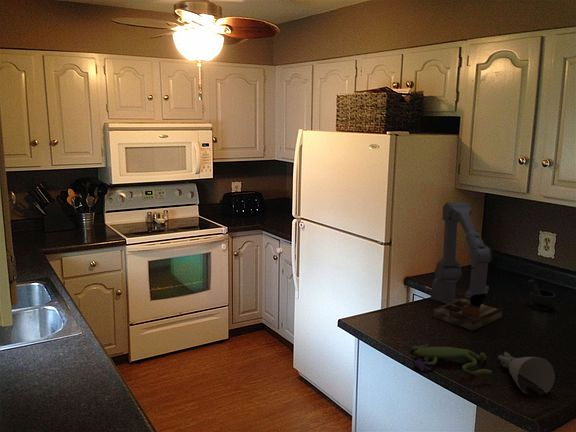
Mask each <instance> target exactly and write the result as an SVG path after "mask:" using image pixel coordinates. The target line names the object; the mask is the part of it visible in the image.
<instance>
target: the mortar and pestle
mask: <svg viewBox="0 0 576 432" xmlns="http://www.w3.org/2000/svg"><path fill="white" fill-rule="evenodd" d="M527 284H528V285H529V287H530V289H531V290H529V299H530V301H531V302H532V303H533V305H532V308H533V309H534V310H536V311H540V312H548V311H550V306H552V305H553V304H554V303H555V301H556V299H557V294H555V292H552V291H550V290H547V289H542V288H541V289H540V288H538V286H537V284H536V283H535V279H534V278H533V279H529V280H527Z"/></svg>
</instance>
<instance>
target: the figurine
mask: <svg viewBox="0 0 576 432" xmlns="http://www.w3.org/2000/svg"><path fill="white" fill-rule="evenodd" d="M410 349H411V350H413V351H414V353H415V355H419V356H421V358H420V357H419V358H417V359H416V360H414V361H413V362H414V366H415V368H416V369H418V370H419V371H420V372H425V373H426V372H429V366H435V365H436V364H437V363H438V358H439V359H443V360H445V361H446V362H448V363H450V361H449V360H448V359H449V358H451V359H452V358H461V357H465V358H467V359H469V360H470V361H472V362H467V363H465V364H463V365H462V366H461V369H462V371H464V372H466V373H469V374H471V375H482V374H488V375H492V374H493V373H492V371H493V370H490V369H486V368H484V369H483V368H482V369H481V368H480V369H477V370H475V371H473V370H470V369H467V368H470V367H475V366H476V365H477V364H478V361H477V360H480V359H481V358H483V361H484V360H487V355H486V354H485V353H484V352H482V351H481V352H480V354H477V353H476V352H474V351H472V350H471V349H467V348H465V349H464V348H458V347H451V346H450V347H449V346H430V345H429V343H426V344H423V345H412V346H411V347H410ZM416 349H417V350H416ZM423 357H424V358H423ZM429 360H433V361H429Z"/></svg>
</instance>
